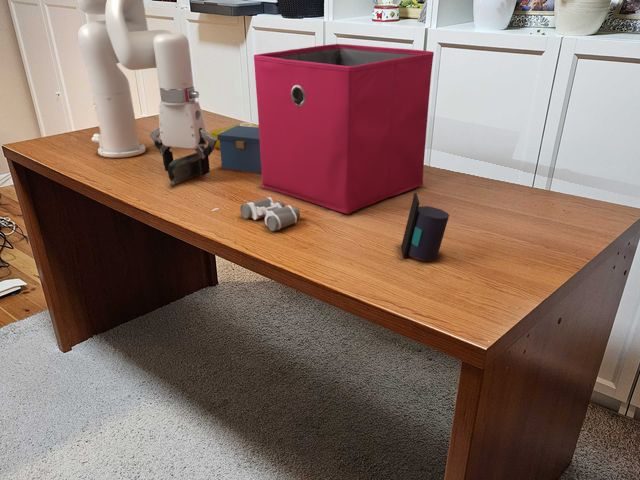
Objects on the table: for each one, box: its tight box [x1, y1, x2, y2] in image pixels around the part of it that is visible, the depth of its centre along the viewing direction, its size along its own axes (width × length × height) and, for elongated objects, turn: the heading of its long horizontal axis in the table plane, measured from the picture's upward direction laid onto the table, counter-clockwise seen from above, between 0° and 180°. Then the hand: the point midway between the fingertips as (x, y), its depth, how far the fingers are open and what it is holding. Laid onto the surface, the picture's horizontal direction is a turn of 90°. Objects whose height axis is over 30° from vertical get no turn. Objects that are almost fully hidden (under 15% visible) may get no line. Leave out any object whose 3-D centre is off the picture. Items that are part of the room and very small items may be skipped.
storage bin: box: [253, 43, 435, 215], centre depth 131 cm, size 28×29×28 cm
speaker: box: [400, 192, 450, 262], centre depth 104 cm, size 8×6×10 cm
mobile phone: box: [167, 152, 201, 187], centre depth 142 cm, size 5×3×15 cm
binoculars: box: [240, 196, 301, 232], centre depth 120 cm, size 12×8×4 cm, turn 41°
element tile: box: [210, 122, 259, 150], centre depth 168 cm, size 15×15×5 cm
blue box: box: [217, 126, 262, 174], centre depth 150 cm, size 13×11×8 cm
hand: (187, 171), depth 143 cm, fingers open, 9 cm apart
